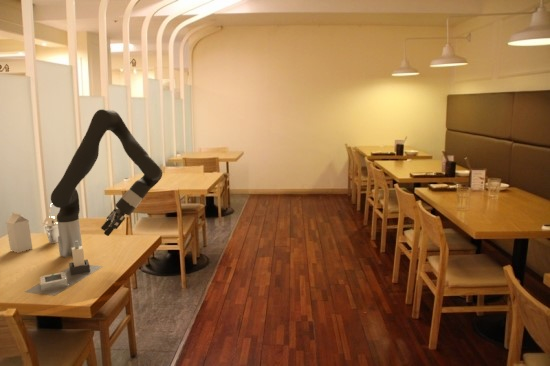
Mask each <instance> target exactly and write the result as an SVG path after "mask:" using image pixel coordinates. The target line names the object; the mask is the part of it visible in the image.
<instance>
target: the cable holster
mask: <svg viewBox="0 0 550 366" xmlns="http://www.w3.org/2000/svg"><path fill="white" fill-rule="evenodd" d="M84 262H85V265H82V266H77V267H74V263H73V261H72V262H68V266H69V267H70V272H71V275H76V274H81V273H85V272H90V266H89V265H90V262H89V261H88V259H84ZM69 267H68V268H69Z"/></svg>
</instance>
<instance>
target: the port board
mask: <svg viewBox="0 0 550 366" xmlns="http://www.w3.org/2000/svg"><path fill="white" fill-rule="evenodd" d="M89 266H90V272H85V273H81V274H76V275H71V272H70V267H67V268H65V269H64V270H61V272H65V273H66V277H67V284H68V287H64V288H59V289H55V290H50V291H45V292H41V285H40V283H38V284H36V285H34V286H31V288H28V289H27V290H25V291H24V293H27V294H28V293H29V294H39V295H46V296H47V295H48V296H57V295H58V294H60V293H62V292H63V291H65V290H66V289H69V288H70V287H72V286H73V285H75V284H76V283H79V282H80V281H82V280H83V279H85V278H87V277H88V276H89V275H92V274H93V273H95V272H97V271H99V269H102V268H103V267H104V266H102V265H93V264H92V265H91V264H89Z"/></svg>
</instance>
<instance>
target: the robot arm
mask: <svg viewBox="0 0 550 366" xmlns="http://www.w3.org/2000/svg"><path fill="white" fill-rule="evenodd" d="M107 131H110V132H112V133H113V134H114V135H115V136H116V137H117V138H118V139H119V141H120V143H121V146H122V148H123V150H124V152H125V154H126V155H127V157H129V159H130V160H131V162H133V163H134V164H135V165H136V166H137V167H138V169H140V171H141V172H142V174H143V176H142V177H141V178H140V179H138V180H136V181H135V182H134V183H133V184H132V185H131V186H130V188H129V189H127V190H126V192H125V193H124V194H123V195H122V196H121V197H120V198H119V199H118V201H117V202H116V203H115V205H114V206H115V208H114V209H112V211H111V212H110V213H109V215H108V216H106V220H105V221H104V223H103V224H102V226H101V227H100V229H101V230H102V231H104V232H103V234H104V235H106V236H107V237H108V236H110V235H111V233H113V231H114V230H118V228H119V227H120V225H121V224H122V223H123V222H124V221H125V219H126V217H125V215H127V216H131V214H132V213H133V212H134V211H135V209H137V207H138V206H139V205H140V203H141V202H142V200H143V199H144V198H145V196H147V194H148V193H149V191H151V189H153V187H155V186H156V185H157V184H158V183H159V181H161V179H162V178H163V171H162V168H161V167H160V166H159V165H158V163H156V162H155V160H154V159H152V158H151V157H150V155H149V154H148V152H147V151H146V150H145V149H144V148H143V147H142V145H141V144H140V143H139V142H138V141H137V140H136V138H135V137H134V135H133V134H132V133H131V131H130V130H129V128H128V127H127V125H126V123H125V122H124V121H123V118H122V117H121V115H120V114H119V113H118V112H117V111H115V110H114V109H108V108H107V109H105V108H101V109H98V110H97V111H96V112H94V114H93V116H92V118H91V121H90V123H89V125H88V128H87V131H86V133H85V134H84V137H83V139H82V140H81V142H80V144H79V145H78V148H77V149H76V151H75V153H74V155H73V156H72V157H71V161H70V162H69V164H68V166H67V168H66V170H65V172H64V174H63V176H62V177H61V179H60V181H59V182H58V184H56V187H55V188H54V189H53V191H52V192H51V194H50V203H52V205H53V207H56V208H57V209H58V208H59V211H58V213H57V215H56V217H57V223H58V231H59V236H58V242H57V243H58V250H59V256H61V257H62V258H71V257H72V258H73V255H72V247H75V244H74V241H79V246H82V247H83V243H82V233H81V225H80V218H79V217H80V215H79V214H80V211H81V210H80V197H79V192H78V190H77V189H76V188H77V186H78V185H79V184H80V183H81V182H82V181H83V179H85V178H86V176H87V175H88V174H89V173H90V171H92V168H94V166H95V164H96V161H97V160H98V159H99V151H100V143H101V140H102V138H103V137H104V135H105V134H106V132H107Z"/></svg>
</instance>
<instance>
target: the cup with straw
mask: <svg viewBox="0 0 550 366" xmlns="http://www.w3.org/2000/svg"><path fill="white" fill-rule="evenodd" d="M52 205H53V204H52V202H50V204H49V206H48V211H49V216H47V217H46V218H45V219H44V221H43V223H42V227H44V229H45V232H46V235H47V239H48V241H49V242H48V243H49V244H56V243H58V236H59V231H58V223H57V216H54V215H52Z"/></svg>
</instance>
